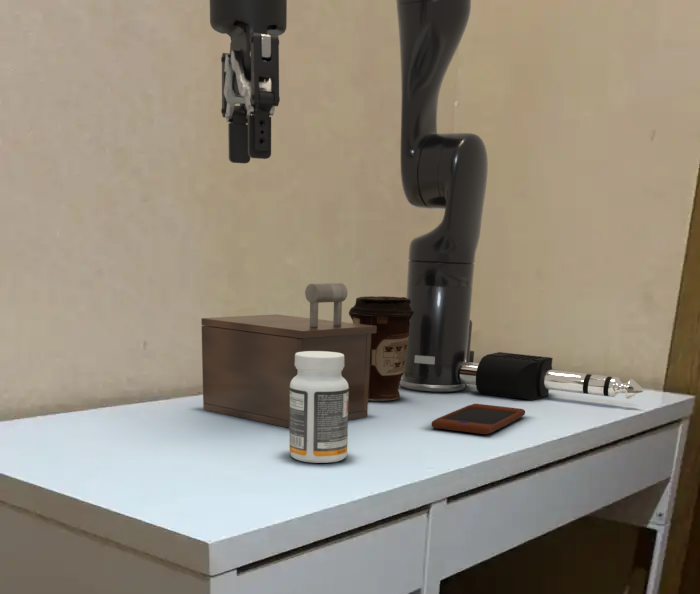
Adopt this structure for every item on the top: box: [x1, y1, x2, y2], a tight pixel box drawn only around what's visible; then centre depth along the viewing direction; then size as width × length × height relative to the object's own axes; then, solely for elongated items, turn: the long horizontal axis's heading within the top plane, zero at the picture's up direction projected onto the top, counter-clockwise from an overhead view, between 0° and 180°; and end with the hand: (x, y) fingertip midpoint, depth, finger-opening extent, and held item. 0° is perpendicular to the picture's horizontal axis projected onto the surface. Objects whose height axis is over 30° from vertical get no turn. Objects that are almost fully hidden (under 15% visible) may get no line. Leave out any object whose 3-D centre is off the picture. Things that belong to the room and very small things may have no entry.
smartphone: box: [430, 403, 526, 435], centre depth 112 cm, size 7×1×15 cm
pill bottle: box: [288, 351, 349, 464], centre depth 90 cm, size 6×6×10 cm
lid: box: [200, 282, 377, 339], centre depth 109 cm, size 16×13×5 cm
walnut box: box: [201, 325, 371, 429], centre depth 112 cm, size 16×13×10 cm
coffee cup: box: [348, 295, 414, 401], centre depth 124 cm, size 9×8×13 cm
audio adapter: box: [459, 351, 644, 401], centre depth 131 cm, size 11×5×25 cm
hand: (249, 160), depth 97 cm, fingers open, 8 cm apart
